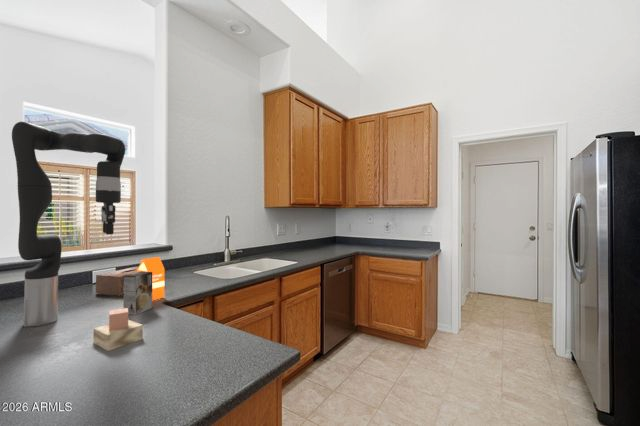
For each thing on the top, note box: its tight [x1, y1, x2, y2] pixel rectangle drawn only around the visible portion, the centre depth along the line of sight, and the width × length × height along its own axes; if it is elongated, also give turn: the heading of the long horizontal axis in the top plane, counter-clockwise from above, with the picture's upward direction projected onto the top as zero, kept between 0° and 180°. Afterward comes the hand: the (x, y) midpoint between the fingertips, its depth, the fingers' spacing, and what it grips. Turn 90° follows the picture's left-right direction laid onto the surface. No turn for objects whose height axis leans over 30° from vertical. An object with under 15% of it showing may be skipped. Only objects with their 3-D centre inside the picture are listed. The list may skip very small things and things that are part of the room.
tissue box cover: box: [95, 265, 140, 297], centre depth 160 cm, size 26×14×10 cm, turn 168°
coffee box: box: [123, 271, 154, 315], centre depth 124 cm, size 9×6×16 cm
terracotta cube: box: [108, 307, 129, 331], centre depth 95 cm, size 5×5×5 cm
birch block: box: [93, 318, 144, 352], centre depth 95 cm, size 10×10×5 cm
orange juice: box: [137, 256, 166, 301], centre depth 140 cm, size 8×9×20 cm
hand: (108, 233), depth 108 cm, fingers open, 8 cm apart
